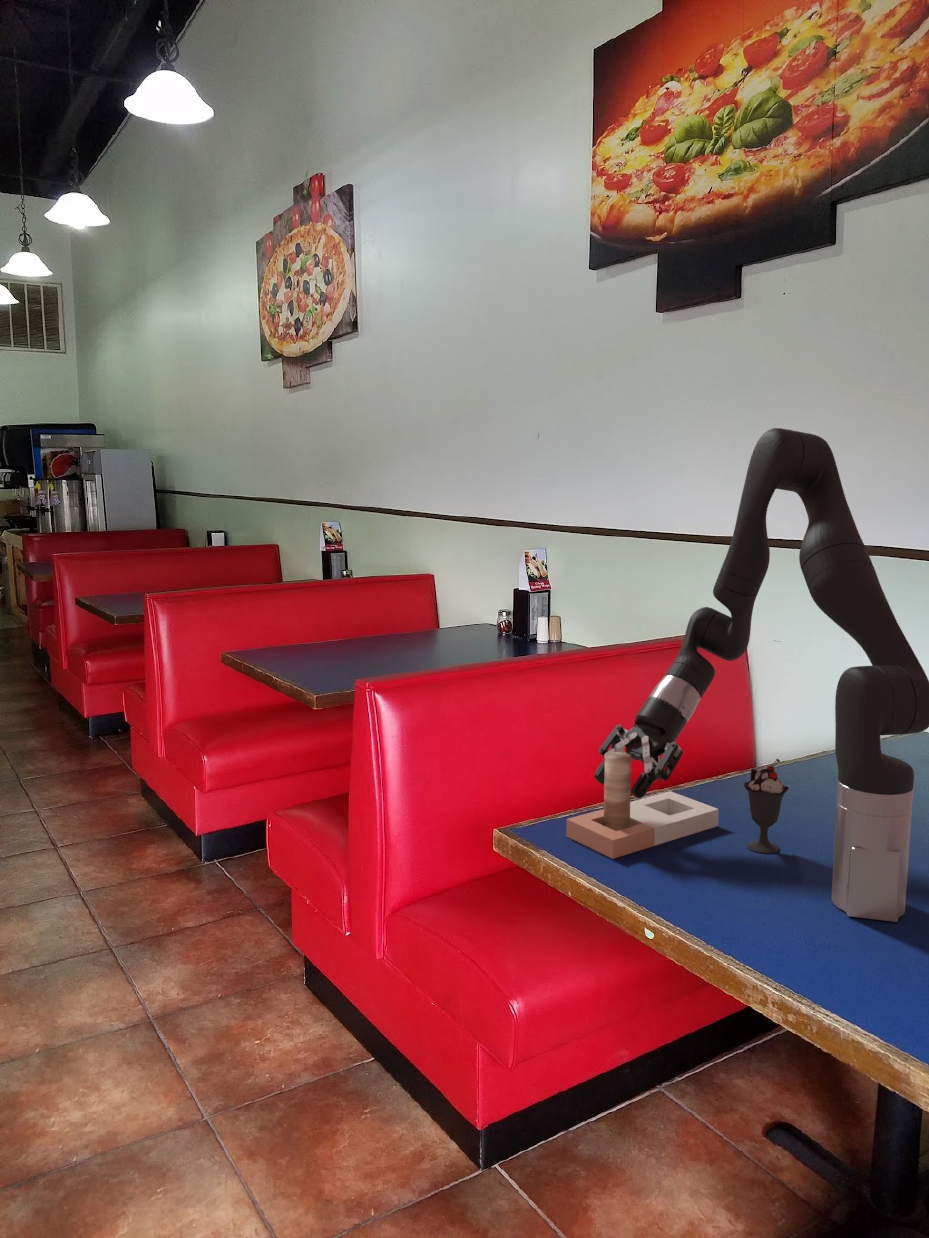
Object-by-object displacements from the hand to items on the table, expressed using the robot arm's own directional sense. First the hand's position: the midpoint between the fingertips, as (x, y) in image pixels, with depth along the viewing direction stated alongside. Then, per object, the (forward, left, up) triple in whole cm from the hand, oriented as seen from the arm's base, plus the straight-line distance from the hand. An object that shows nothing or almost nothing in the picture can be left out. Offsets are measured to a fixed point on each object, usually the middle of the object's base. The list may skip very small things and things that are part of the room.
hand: (616, 788), depth 146 cm
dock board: (+5, -4, -9) cm, 11 cm away
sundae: (+3, -23, -9) cm, 25 cm away
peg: (0, 0, -9) cm, 9 cm away
